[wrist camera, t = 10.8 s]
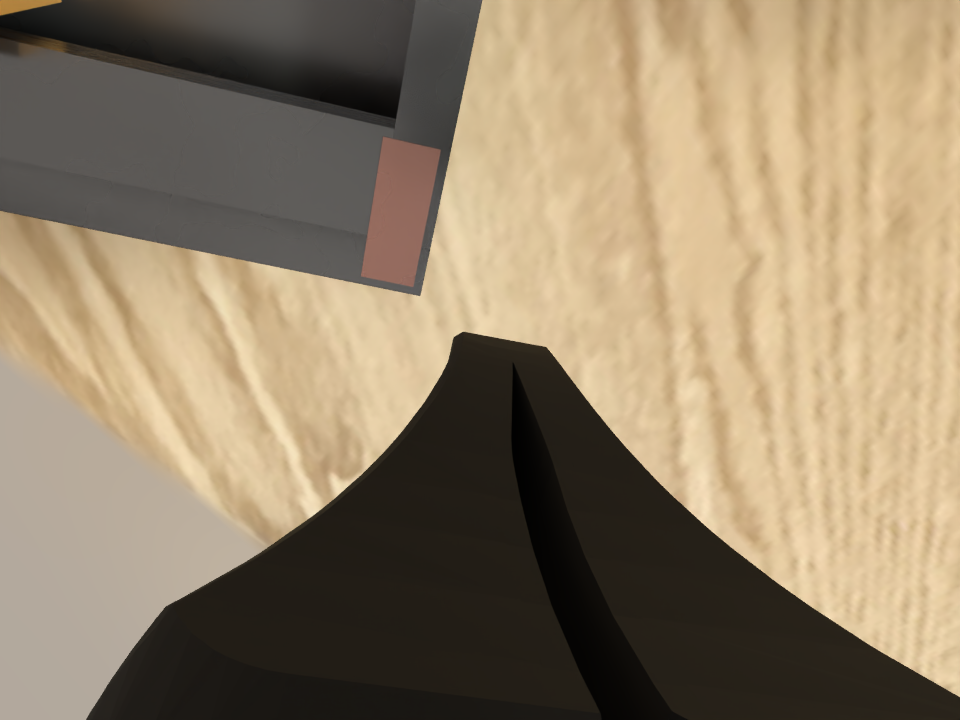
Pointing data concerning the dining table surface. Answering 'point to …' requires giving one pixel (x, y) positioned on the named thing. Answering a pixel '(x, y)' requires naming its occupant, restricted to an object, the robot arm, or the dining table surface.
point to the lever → (23, 5)
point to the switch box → (240, 126)
